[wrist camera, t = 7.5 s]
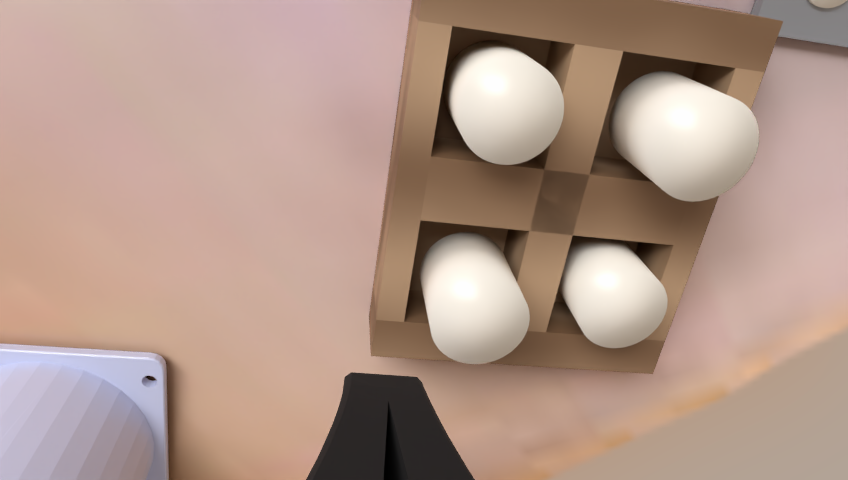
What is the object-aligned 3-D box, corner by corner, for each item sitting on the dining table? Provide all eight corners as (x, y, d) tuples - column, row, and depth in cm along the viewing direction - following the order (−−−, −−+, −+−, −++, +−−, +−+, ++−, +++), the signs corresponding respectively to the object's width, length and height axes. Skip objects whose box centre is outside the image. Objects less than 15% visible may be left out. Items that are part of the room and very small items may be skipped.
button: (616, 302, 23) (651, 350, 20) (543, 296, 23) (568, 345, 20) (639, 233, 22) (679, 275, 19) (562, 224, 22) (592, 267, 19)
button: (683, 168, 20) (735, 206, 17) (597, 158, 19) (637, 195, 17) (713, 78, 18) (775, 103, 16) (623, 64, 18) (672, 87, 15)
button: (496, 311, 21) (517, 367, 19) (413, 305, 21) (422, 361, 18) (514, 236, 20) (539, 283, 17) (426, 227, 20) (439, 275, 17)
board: (626, 335, 25) (652, 373, 23) (369, 316, 23) (371, 356, 21) (736, 11, 20) (783, 20, 18) (417, -42, 18) (426, -38, 16)
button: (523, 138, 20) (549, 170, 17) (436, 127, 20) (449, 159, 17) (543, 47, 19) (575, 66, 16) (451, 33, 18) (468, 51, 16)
